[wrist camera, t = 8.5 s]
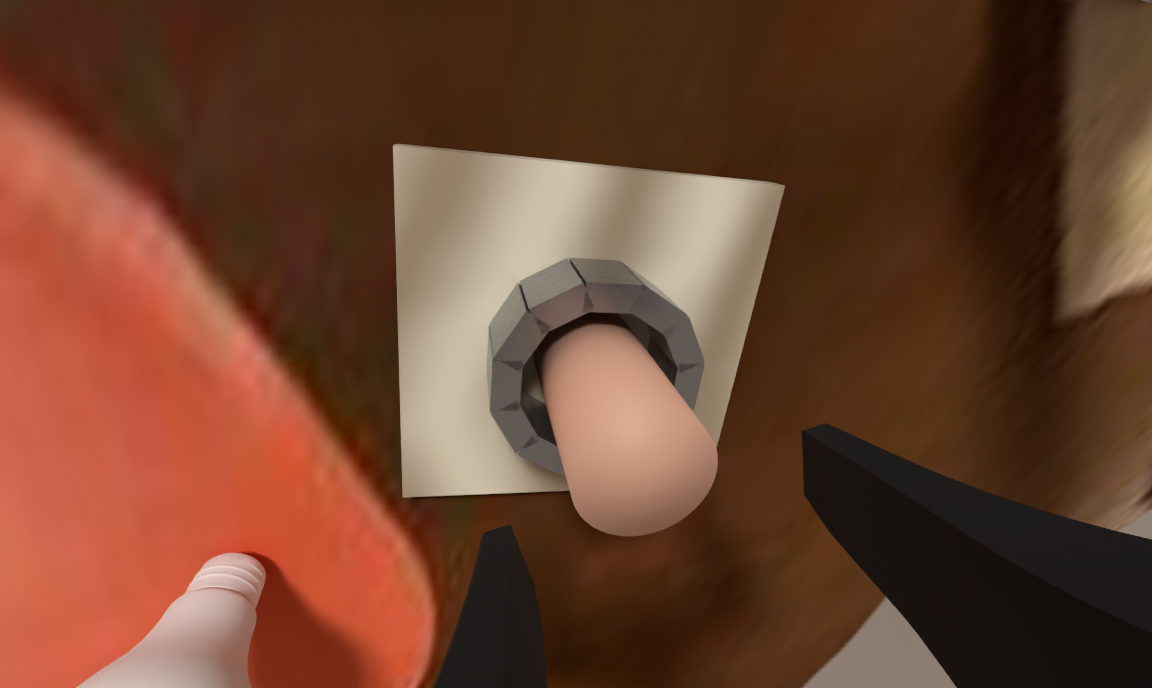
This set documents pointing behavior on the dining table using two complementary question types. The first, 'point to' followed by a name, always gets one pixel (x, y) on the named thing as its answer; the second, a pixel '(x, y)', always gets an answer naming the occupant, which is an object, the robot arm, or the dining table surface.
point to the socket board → (523, 233)
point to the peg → (621, 428)
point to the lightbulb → (197, 633)
